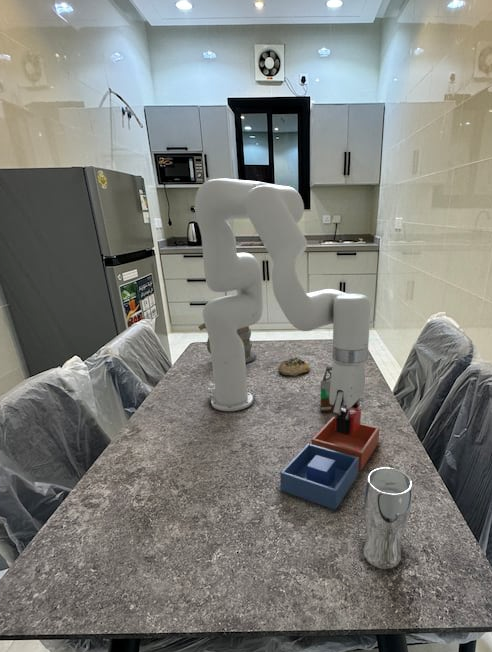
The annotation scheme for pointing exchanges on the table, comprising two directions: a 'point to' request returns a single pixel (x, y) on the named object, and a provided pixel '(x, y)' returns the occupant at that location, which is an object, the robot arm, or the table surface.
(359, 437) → the red bin
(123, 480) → the table surface
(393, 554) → the beer glass
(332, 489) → the blue bin
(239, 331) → the tankard
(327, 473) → the blue block
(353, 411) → the red block
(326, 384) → the food container
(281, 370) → the bread roll
